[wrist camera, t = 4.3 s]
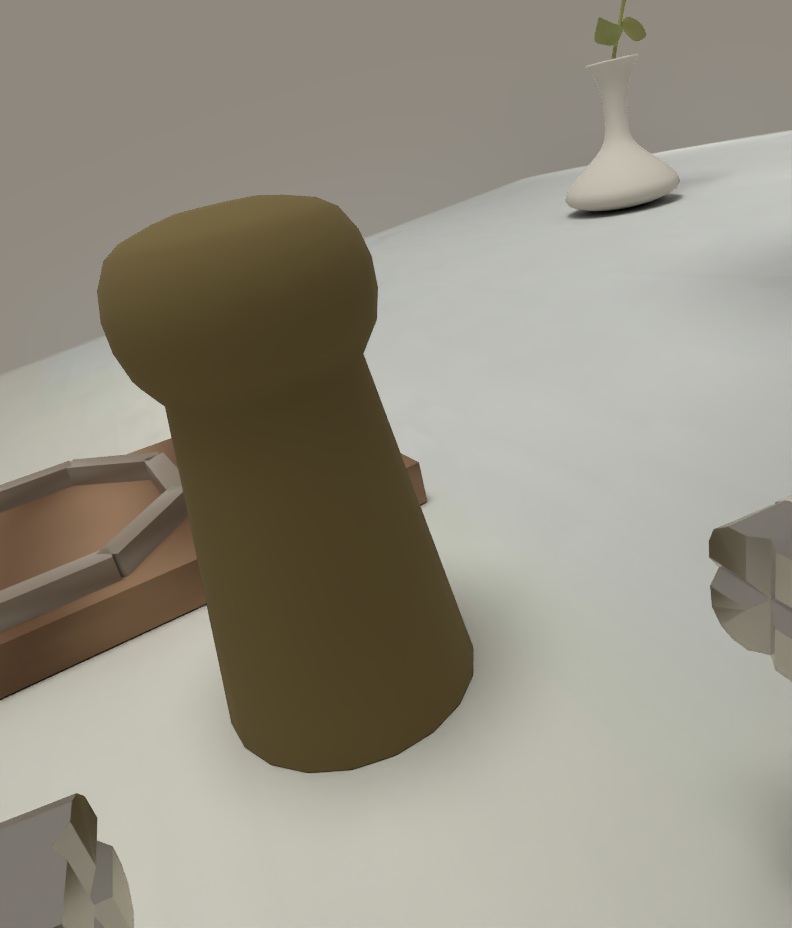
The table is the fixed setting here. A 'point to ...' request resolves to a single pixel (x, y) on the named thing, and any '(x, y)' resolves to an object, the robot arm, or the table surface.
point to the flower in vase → (619, 137)
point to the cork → (291, 477)
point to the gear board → (96, 559)
